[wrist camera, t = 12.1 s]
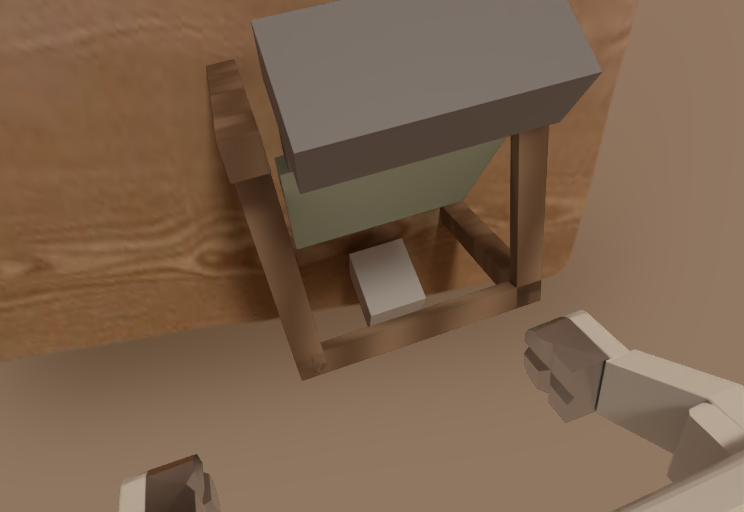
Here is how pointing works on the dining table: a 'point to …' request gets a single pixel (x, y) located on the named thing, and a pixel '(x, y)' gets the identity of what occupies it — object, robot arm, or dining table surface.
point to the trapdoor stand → (502, 264)
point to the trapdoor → (409, 100)
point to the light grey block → (385, 282)
